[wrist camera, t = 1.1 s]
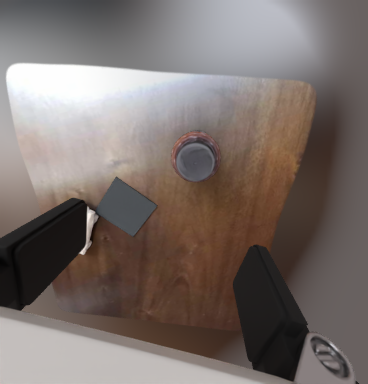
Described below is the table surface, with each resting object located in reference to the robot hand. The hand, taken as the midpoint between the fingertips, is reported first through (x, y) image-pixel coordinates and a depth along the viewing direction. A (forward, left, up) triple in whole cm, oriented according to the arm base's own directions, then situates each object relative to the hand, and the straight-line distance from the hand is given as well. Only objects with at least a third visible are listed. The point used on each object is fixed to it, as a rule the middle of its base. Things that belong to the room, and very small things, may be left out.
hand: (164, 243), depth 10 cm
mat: (-4, -14, -21) cm, 26 cm away
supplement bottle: (0, +3, -21) cm, 21 cm away
